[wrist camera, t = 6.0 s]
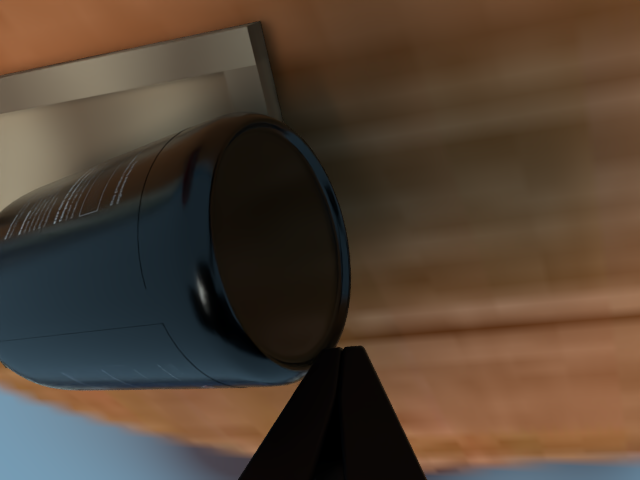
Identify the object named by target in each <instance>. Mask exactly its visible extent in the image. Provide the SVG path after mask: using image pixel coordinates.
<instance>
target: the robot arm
mask: <svg viewBox="0 0 640 480" xmlns="http://www.w3.org/2000/svg"><path fill="white" fill-rule="evenodd" d="M238 480H427V479H426V477H425V474H424V472H423V470H422V468H421V466H420V464H419V462H418V460H417V458H416V456H415V453H414V451H413V449H412V447H411V445H410V443H409V441H408V439H407V437H406V434H405V432H404V430H403V428H402V426H401V424H400V422H399V420H398V418H397V415H396V413H395V411H394V409H393V407H392V405H391V403H390V401H389V399H388V397H387V394H386V392H385V390H384V388H383V386H382V384H381V382H380V380H379V378H378V375H377V373H376V371H375V369H374V367H373V365H372V363H371V361H370V359H369V356H368V354H367V352H366V350H365V348H364V347H363V346H350V347H345V348H344V349H342V348H340V347H336V348H325V349H323V350H321V352H320V353H319V355H318V356H317V358H316V359H315V361H314V363H313V364H312V366H311V367H310V369H309V370H308V372H307V373H306V375H305V377H304V378H303V380H302V381H301V383H300V384H299V386H298V387H297V389H296V390H295V392H294V394H293V395H292V397H291V398H290V400H289V401H288V403H287V404H286V406H285V408H284V409H283V411H282V412H281V414H280V415H279V417H278V418H277V420H276V422H275V423H274V425H273V426H272V428H271V429H270V431H269V432H268V434H267V436H266V437H265V439H264V440H263V442H262V443H261V445H260V446H259V448H258V449H257V451H256V453H255V454H254V456H253V457H252V459H251V460H250V462H249V463H248V465H247V467H246V468H245V470H244V471H243V473H242V474H241V476H240V477H239V479H238Z"/></svg>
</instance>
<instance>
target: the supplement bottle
mask: <svg viewBox="0 0 640 480" xmlns="http://www.w3.org/2000/svg"><path fill="white" fill-rule="evenodd" d="M350 289H351V266H350V253H349V245H348V239H347V233H346V228H345V224H344V220H343V216H342V212H341V209H340V206H339V203H338V200H337V197H336V194H335V192H334V189H333V187H332V185H331V182H330V180H329V178H328V176H327V174H326V172H325V170H324V168H323V167H322V165H321V163H320V161H319V160H318V158H317V157H316V155H315V154H314V152H313V151H312V150H311V148H310V147H309V146H308V144H307V143H306V142H305V141H304V140H303V139H302V138H301V137H300V136H299V135H298V134H297V133H296V132H295V131H294V130H292V129H291V128H290V127H288V126H287V125H285V124H284V123H283V122H281V121H279V120H277V119H275V118H272V117H270V116H267V115H264V114H260V113H255V112H234V113H229V114H226V115H222V116H219V117H216V118H214V119H211V120H208V121H206V122H203V123H200V124H198V125H195V126H192V127H189V128H187V129H184V130H181V131H179V132H176V133H174V134H171V135H169V136H166V137H164V138H161V139H159V140H157V141H154V142H152V143H149V144H147V145H144V146H142V147H139V148H137V149H134V150H132V151H129V152H127V153H124V154H122V155H119V156H117V157H114V158H112V159H109V160H107V161H104V162H102V163H99V164H97V165H94V166H92V167H89V168H87V169H84V170H82V171H79V172H77V173H74V174H72V175H69V176H67V177H64V178H62V179H59V180H57V181H54V182H52V183H49V184H47V185H44V186H42V187H39V188H37V189H35V190H33V191H31V192H29V193H27V194H25V195H23V196H21V197H20V198H18V199H16V200H15V201H13V202H12V203H10V204H9V205H8V206H7V207H5V208H4V209H3V210H2V211H1V212H0V361H1V362H2V363H3V364H4V365H6V366H7V367H8V368H9V369H11V370H12V371H13V372H15V373H16V374H18V375H20V376H22V377H24V378H25V379H27V380H29V381H32V382H34V383H37V384H39V385H43V386H47V387H50V388H57V389H64V390H144V389H204V388H247V387H272V386H281V385H288V384H292V383H295V382H298V381H300V380H302V379H303V378H304V377H305V375H306V373H307V372H308V370H309V369H310V367H311V366H312V364H313V363H314V361H315V359H316V358H317V356H318V355H319V353H320V352H321V350H323V349H325V348H335V347H336V346H337V344H338V342H339V340H340V337H341V335H342V332H343V329H344V326H345V322H346V318H347V313H348V308H349V300H350Z"/></svg>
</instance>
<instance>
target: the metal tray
mask: <svg viewBox="0 0 640 480" xmlns="http://www.w3.org/2000/svg"><path fill="white" fill-rule="evenodd" d="M234 112H255V113H260V114H264V115H267V116H270V117H272V118H275V119H277V120H279V121H281V122H283V118H282V114H281V110H280V105H279V101H278V97H277V92H276V88H275V84H274V79H273V75H272V71H271V66H270V62H269V58H268V53H267V49H266V45H265V40H264V36H263V32H262V27H261V23H260V21H258V22H253V23H249V24H244V25H239V26H234V27H230V28H225V29H220V30H215V31H211V32H206V33H201V34H196V35H192V36H187V37H182V38H177V39H173V40H168V41H163V42H158V43H154V44H149V45H144V46H139V47H134V48H130V49H125V50H120V51H115V52H111V53H106V54H101V55H96V56H92V57H87V58H82V59H77V60H73V61H68V62H63V63H58V64H54V65H49V66H44V67H39V68H35V69H30V70H25V71H20V72H16V73H11V74H6V75H1V76H0V212H1V211H2V210H3V209H4V208H5V207H7V206H8V205H9V204H10V203H12V202H13V201H15V200H16V199H18V198H20V197H21V196H23V195H25V194H27V193H29V192H31V191H33V190H35V189H37V188H39V187H42V186H44V185H47V184H49V183H52V182H54V181H57V180H59V179H62V178H64V177H67V176H69V175H72V174H74V173H77V172H79V171H82V170H84V169H87V168H89V167H92V166H94V165H97V164H99V163H102V162H104V161H107V160H109V159H112V158H114V157H117V156H119V155H122V154H124V153H127V152H129V151H132V150H134V149H137V148H139V147H142V146H144V145H147V144H149V143H152V142H154V141H157V140H159V139H161V138H164V137H166V136H169V135H171V134H174V133H176V132H179V131H181V130H184V129H187V128H189V127H192V126H195V125H198V124H200V123H203V122H206V121H208V120H211V119H214V118H216V117H219V116H222V115H226V114H229V113H234ZM1 363H2V362H1ZM2 364H3V363H2ZM3 365H4V364H3ZM4 366H5V368H8V367H7V366H6V365H4Z"/></svg>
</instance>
